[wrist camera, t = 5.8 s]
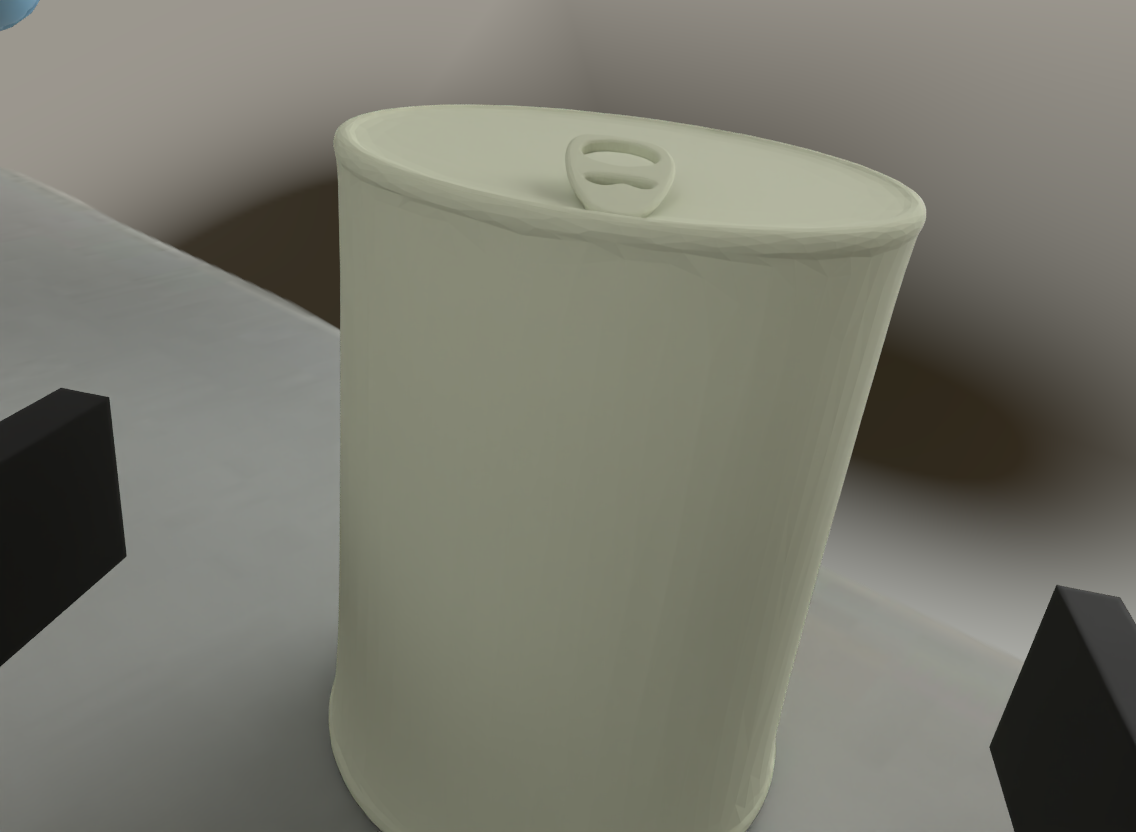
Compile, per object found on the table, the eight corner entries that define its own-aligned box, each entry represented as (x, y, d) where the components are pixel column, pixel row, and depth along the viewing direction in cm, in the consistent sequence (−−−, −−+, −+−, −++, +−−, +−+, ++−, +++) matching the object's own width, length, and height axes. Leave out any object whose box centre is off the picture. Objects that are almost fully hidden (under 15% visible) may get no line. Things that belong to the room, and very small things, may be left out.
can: (253, 860, 16) (217, 124, 10) (395, 555, 24) (414, 62, 19) (801, 947, 15) (1042, 233, 10) (751, 607, 24) (870, 120, 18)
